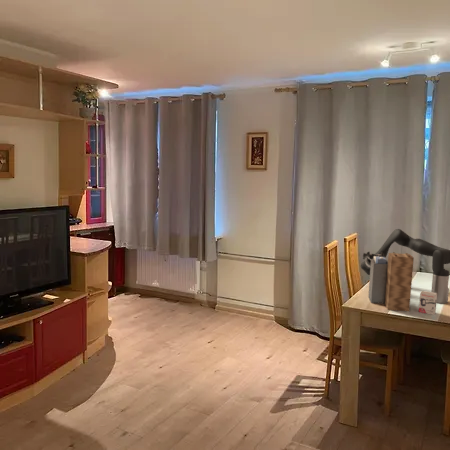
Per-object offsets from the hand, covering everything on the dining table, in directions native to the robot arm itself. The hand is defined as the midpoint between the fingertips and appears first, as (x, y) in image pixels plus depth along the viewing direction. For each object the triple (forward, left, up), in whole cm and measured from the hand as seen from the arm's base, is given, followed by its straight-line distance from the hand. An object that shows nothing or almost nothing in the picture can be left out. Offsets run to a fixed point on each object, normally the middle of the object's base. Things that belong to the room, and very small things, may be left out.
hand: (375, 253), depth 311 cm
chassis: (0, +21, -26) cm, 33 cm away
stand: (-9, +34, -26) cm, 44 cm away
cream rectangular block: (0, +14, -4) cm, 14 cm away
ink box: (-25, +38, -27) cm, 53 cm away
